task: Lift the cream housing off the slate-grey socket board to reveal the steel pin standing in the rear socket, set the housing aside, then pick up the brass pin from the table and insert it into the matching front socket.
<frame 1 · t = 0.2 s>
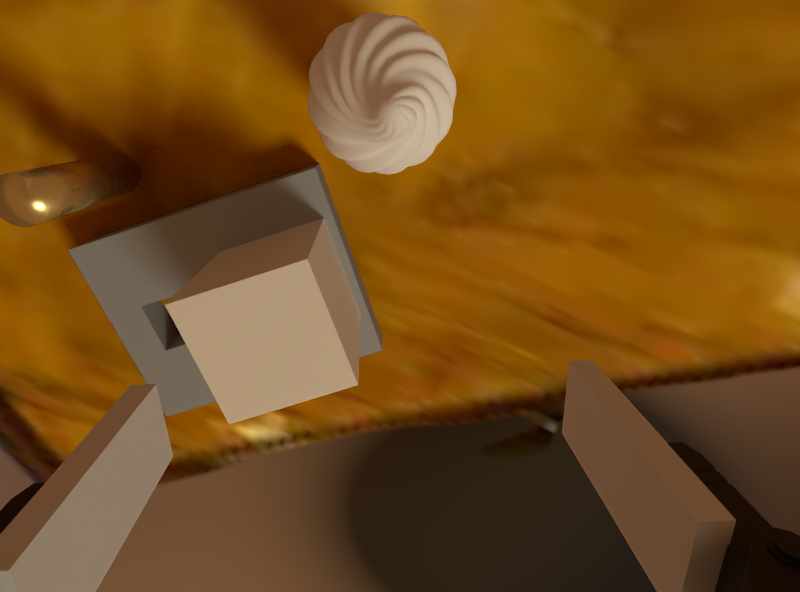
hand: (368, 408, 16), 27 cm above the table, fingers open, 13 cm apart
brass pin: (120, 173, 38), on the table
housing: (292, 284, 39), point 3 cm above the table, touching socket board
soft serve ice cream cone: (378, 100, 38), on the table
socket board: (243, 290, 42), on the table
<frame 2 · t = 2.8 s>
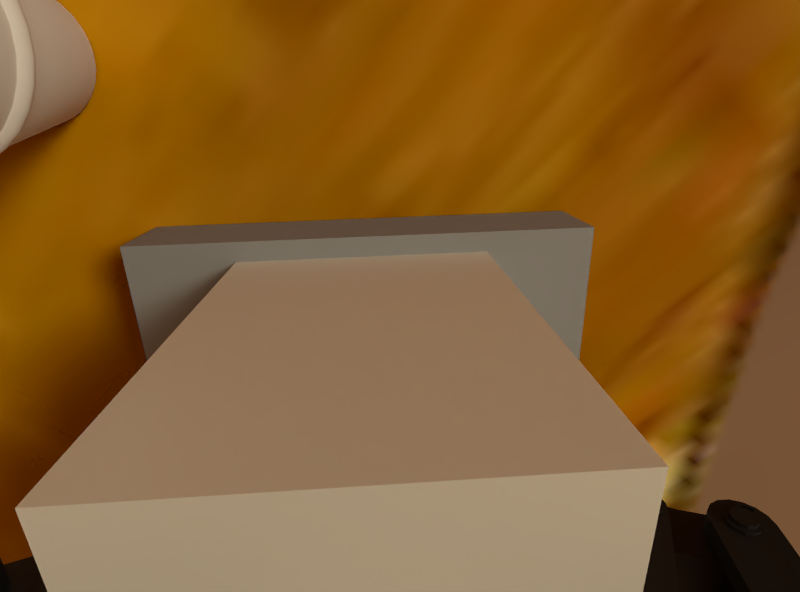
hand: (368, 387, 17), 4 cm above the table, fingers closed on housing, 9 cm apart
housing: (369, 367, 18), point 3 cm above the table, touching gripper, socket board
soft serve ice cream cone: (35, 58, 17), on the table
socket board: (374, 430, 23), on the table
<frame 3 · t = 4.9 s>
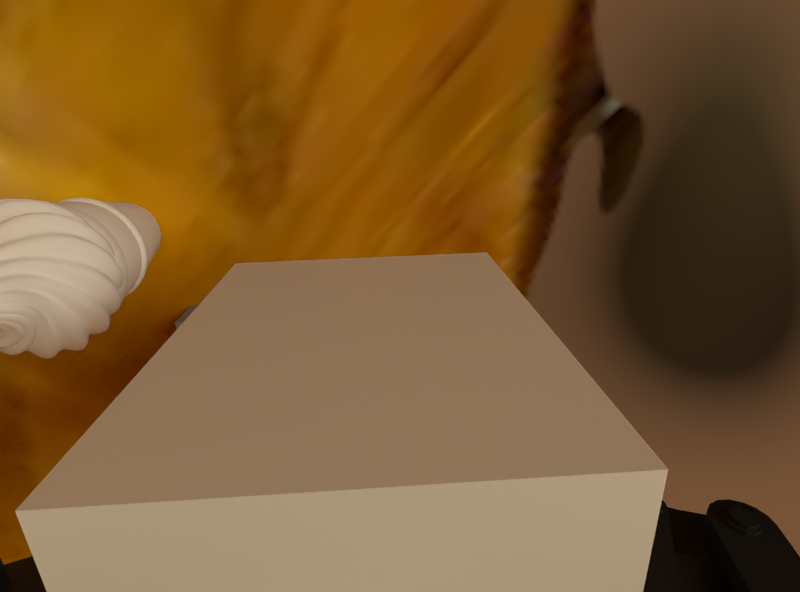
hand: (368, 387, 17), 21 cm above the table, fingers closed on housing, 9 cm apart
housing: (369, 368, 18), point 19 cm above the table, touching gripper
soft serve ice cream cone: (131, 230, 35), on the table
when the fingers open (3 cm above the table, at t = 7.4 s): housing drops 1 cm, on the table.
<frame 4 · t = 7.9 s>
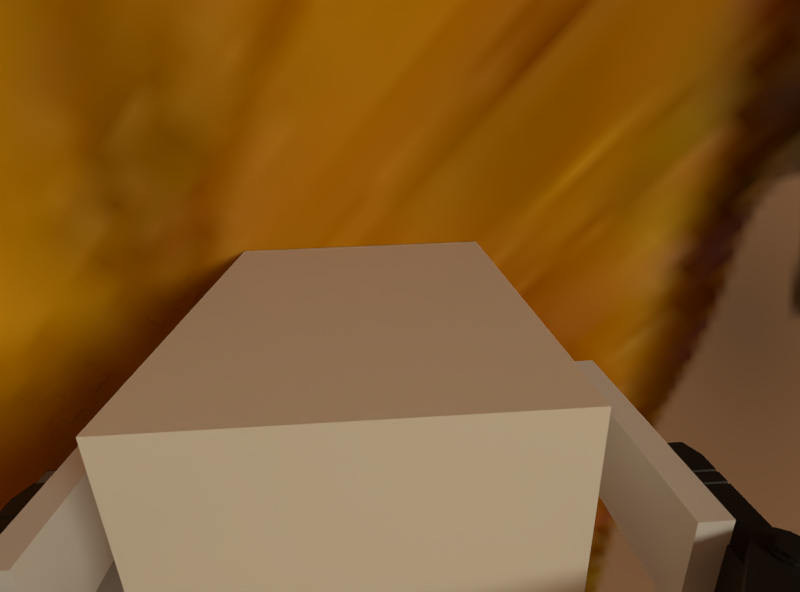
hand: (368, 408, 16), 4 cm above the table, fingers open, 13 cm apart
housing: (367, 350, 20), on the table
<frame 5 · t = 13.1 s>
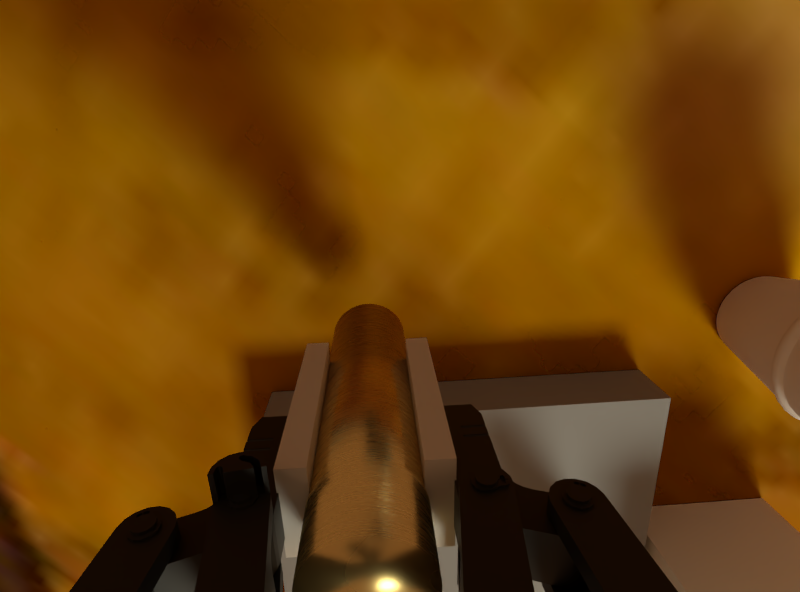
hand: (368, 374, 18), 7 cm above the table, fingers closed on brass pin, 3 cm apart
brass pin: (369, 336, 21), point 4 cm above the table, touching gripper
housing: (684, 556, 32), on the table
soft serve ice cream cone: (751, 311, 26), on the table
socket board: (457, 499, 29), on the table
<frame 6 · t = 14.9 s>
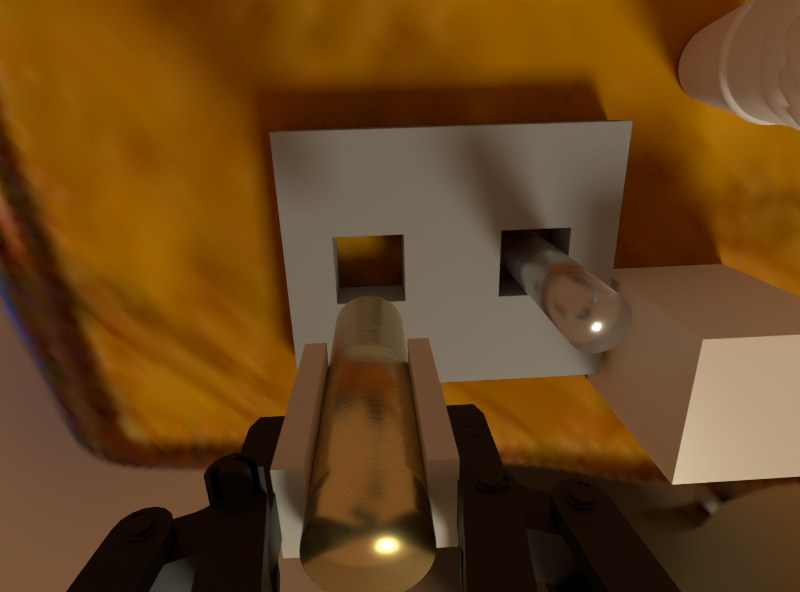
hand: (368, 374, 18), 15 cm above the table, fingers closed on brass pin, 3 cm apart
brass pin: (369, 326, 22), point 11 cm above the table, touching gripper
housing: (652, 323, 35), on the table
soft serve ice cream cone: (710, 63, 29), on the table
steel pin: (519, 249, 33), resting in socket board
socket board: (445, 253, 32), on the table
when the fingers open (4 cm above the table, at t = 17.5 s): brass pin stays where it is, resting in socket board.
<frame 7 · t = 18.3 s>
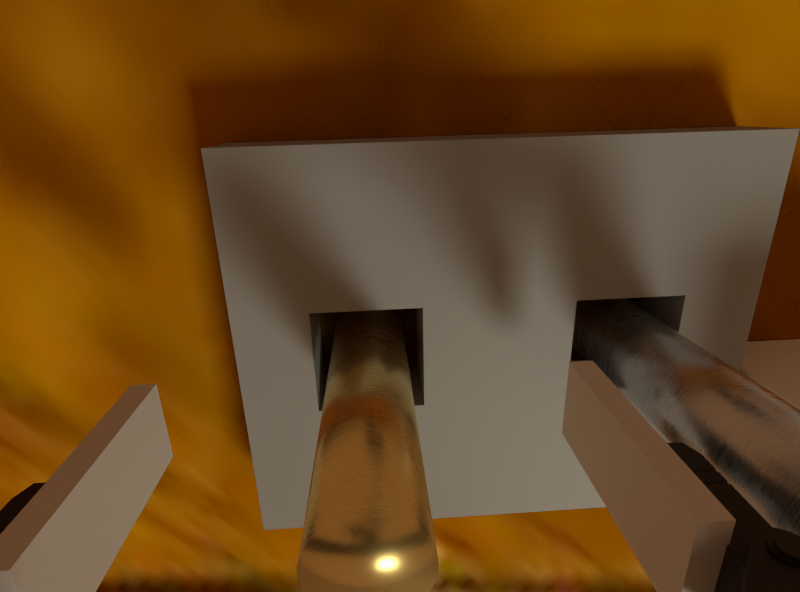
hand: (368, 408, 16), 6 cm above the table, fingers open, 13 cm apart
brass pin: (369, 332, 22), resting in socket board
housing: (773, 416, 24), on the table
steel pin: (592, 318, 22), resting in socket board, touching gripper
socket board: (481, 323, 22), on the table
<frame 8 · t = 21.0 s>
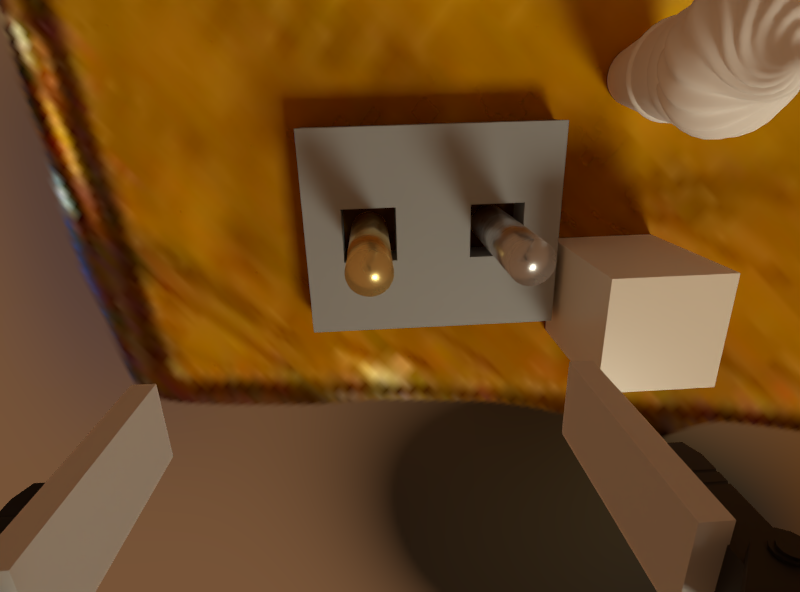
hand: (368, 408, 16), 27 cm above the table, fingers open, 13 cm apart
brass pin: (369, 229, 41), resting in socket board
housing: (596, 283, 44), on the table
soft serve ice cream cone: (632, 76, 38), on the table
steel pin: (488, 222, 41), resting in socket board
socket board: (429, 224, 41), on the table
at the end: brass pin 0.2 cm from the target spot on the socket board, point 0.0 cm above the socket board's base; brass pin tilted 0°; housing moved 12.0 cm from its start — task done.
